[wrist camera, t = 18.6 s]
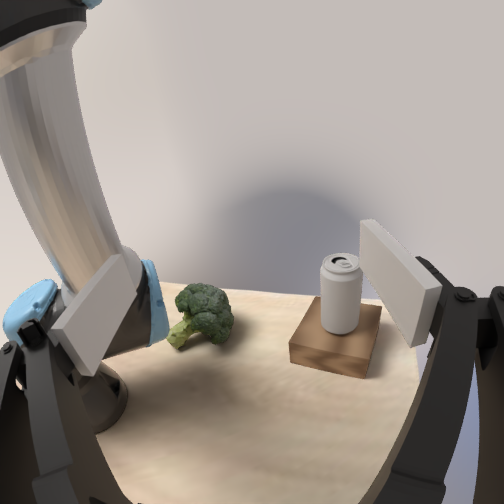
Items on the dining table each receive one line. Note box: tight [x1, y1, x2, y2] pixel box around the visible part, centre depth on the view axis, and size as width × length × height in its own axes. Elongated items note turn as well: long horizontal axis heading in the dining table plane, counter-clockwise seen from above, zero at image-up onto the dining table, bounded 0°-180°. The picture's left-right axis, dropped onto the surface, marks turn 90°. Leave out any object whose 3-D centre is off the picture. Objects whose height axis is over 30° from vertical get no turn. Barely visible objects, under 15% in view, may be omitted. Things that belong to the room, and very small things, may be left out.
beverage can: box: [320, 253, 363, 334], centre depth 41 cm, size 6×6×12 cm
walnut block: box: [289, 296, 382, 379], centre depth 45 cm, size 13×13×5 cm
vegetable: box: [166, 283, 234, 349], centre depth 51 cm, size 12×13×15 cm
